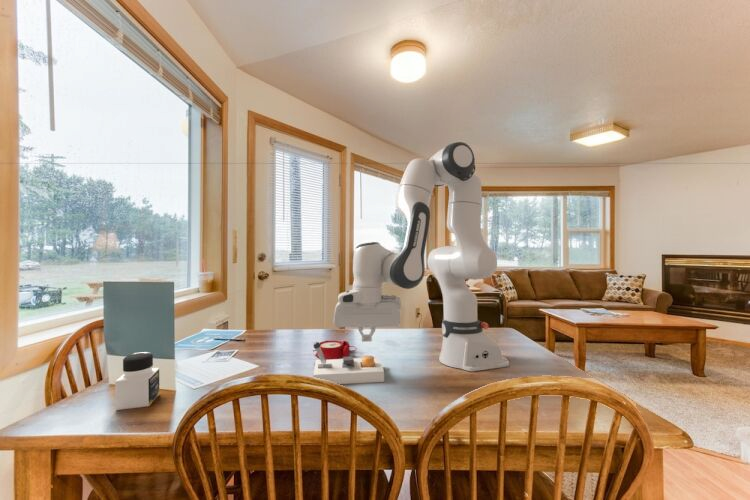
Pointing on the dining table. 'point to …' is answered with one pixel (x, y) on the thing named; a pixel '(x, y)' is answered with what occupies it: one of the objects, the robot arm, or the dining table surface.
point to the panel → (349, 371)
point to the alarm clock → (334, 349)
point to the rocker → (348, 360)
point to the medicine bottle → (137, 382)
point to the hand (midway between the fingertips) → (366, 341)
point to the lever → (319, 352)
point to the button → (367, 361)
